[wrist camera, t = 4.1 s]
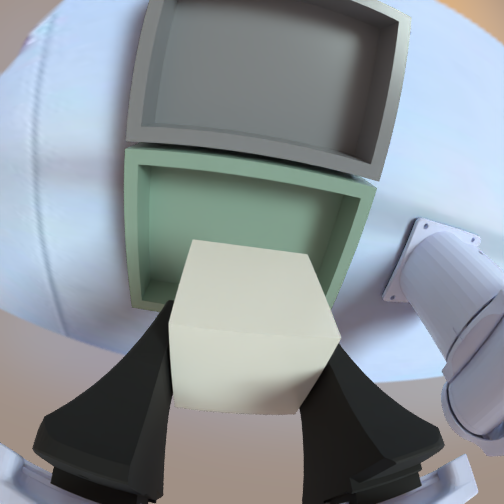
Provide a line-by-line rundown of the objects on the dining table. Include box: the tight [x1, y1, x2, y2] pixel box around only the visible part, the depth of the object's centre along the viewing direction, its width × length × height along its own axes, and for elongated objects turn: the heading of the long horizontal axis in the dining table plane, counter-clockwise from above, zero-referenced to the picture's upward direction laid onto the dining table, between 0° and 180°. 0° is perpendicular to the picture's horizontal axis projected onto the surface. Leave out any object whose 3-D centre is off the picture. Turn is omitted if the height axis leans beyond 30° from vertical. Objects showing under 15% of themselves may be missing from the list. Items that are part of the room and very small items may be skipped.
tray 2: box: [124, 142, 377, 312], centre depth 17 cm, size 14×11×3 cm
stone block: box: [169, 239, 341, 415], centre depth 10 cm, size 5×5×5 cm
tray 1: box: [126, 0, 412, 181], centre depth 12 cm, size 14×11×3 cm
